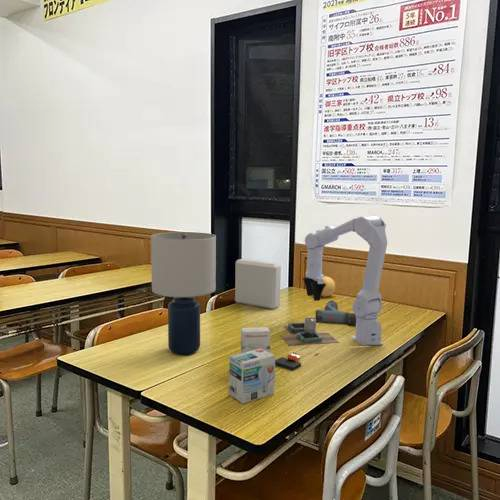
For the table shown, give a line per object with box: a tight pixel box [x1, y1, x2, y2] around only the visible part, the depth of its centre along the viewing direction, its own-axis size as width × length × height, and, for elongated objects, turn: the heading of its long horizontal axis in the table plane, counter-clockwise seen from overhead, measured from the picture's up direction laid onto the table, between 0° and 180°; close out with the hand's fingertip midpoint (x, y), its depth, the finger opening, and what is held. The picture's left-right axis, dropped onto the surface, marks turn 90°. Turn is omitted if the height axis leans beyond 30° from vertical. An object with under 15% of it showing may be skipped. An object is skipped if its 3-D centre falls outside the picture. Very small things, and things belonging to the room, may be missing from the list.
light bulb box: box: [228, 348, 276, 404], centre depth 123 cm, size 11×7×11 cm, turn 126°
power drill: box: [315, 300, 356, 325], centre depth 194 cm, size 5×19×20 cm
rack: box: [280, 332, 340, 347], centre depth 166 cm, size 10×18×2 cm, turn 102°
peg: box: [304, 317, 317, 338], centre depth 165 cm, size 4×4×7 cm
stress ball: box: [321, 275, 336, 298], centre depth 229 cm, size 10×10×10 cm
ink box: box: [240, 326, 271, 353], centre depth 142 cm, size 9×5×12 cm, turn 96°
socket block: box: [282, 322, 305, 335], centre depth 176 cm, size 10×10×2 cm
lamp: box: [150, 231, 217, 356], centre depth 152 cm, size 20×20×39 cm
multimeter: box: [275, 351, 320, 372], centre depth 150 cm, size 18×12×3 cm, turn 136°
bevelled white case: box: [234, 258, 282, 310], centre depth 211 cm, size 21×8×20 cm, turn 58°
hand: (313, 297), depth 184 cm, fingers open, 7 cm apart
